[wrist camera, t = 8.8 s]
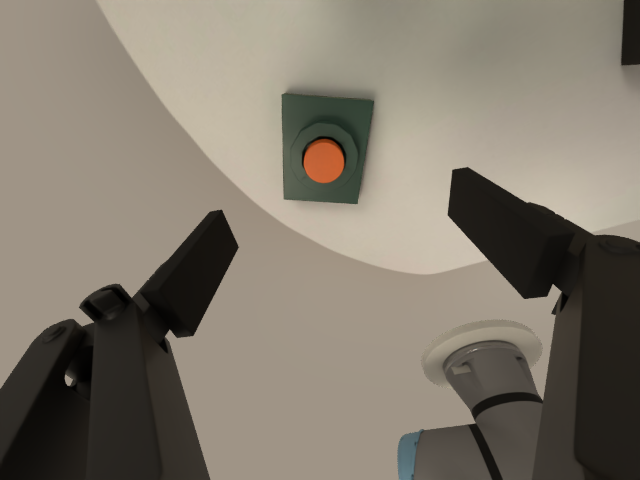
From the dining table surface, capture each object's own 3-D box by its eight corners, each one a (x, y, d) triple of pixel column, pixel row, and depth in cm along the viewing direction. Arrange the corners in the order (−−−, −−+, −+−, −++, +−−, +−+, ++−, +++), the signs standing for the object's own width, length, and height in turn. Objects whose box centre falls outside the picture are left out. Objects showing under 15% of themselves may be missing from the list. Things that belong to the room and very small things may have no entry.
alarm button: (340, 178, 27) (341, 184, 25) (304, 176, 27) (303, 182, 25) (345, 140, 24) (346, 143, 23) (305, 137, 24) (304, 140, 23)
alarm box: (355, 197, 32) (359, 210, 28) (286, 192, 31) (281, 205, 28) (370, 99, 26) (377, 102, 22) (284, 93, 25) (278, 95, 22)
